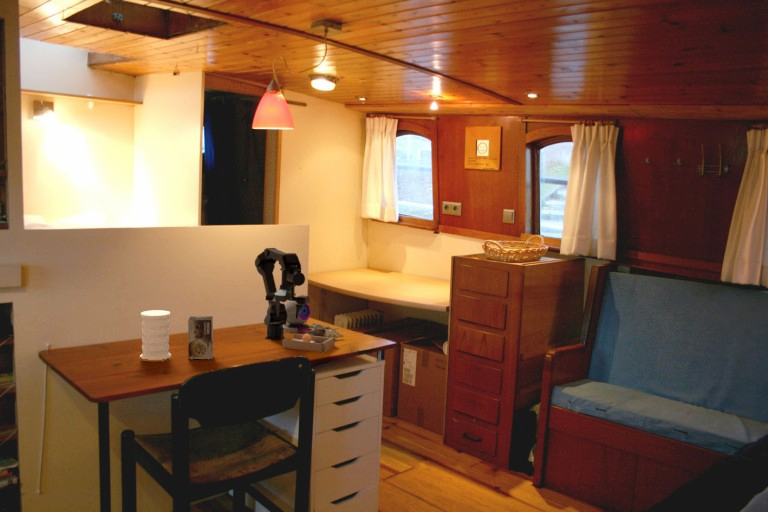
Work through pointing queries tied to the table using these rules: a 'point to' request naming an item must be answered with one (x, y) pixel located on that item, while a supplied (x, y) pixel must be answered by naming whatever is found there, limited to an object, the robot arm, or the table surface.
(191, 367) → the table surface
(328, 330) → the figurine
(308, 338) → the ball
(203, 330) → the coffee box
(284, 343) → the shallow open tray
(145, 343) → the decorative container
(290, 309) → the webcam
